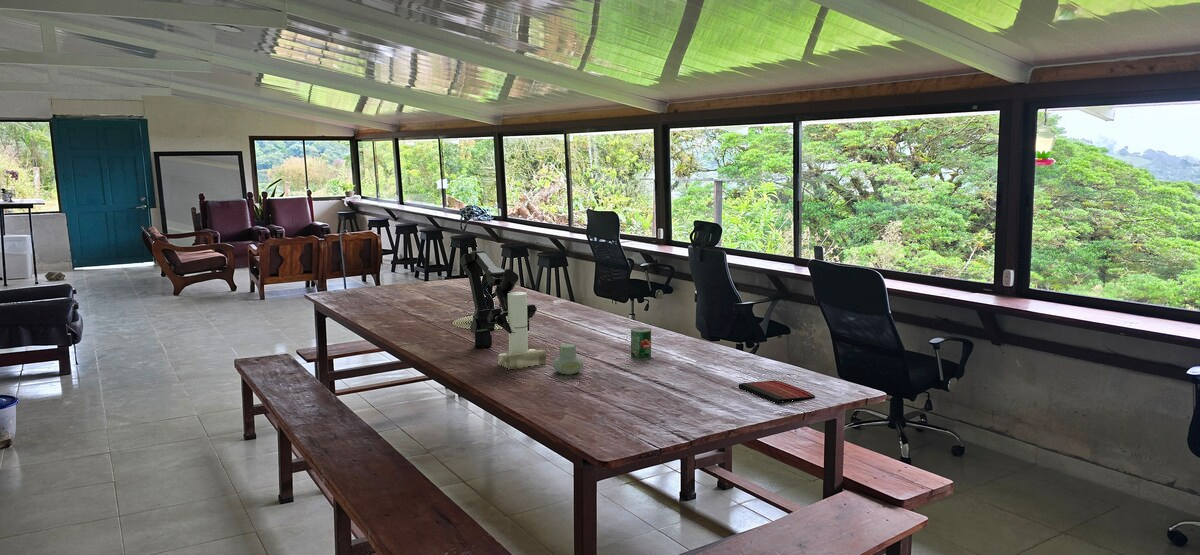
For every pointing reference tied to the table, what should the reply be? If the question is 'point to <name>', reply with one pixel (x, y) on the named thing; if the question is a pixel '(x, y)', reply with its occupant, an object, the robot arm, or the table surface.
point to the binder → (776, 391)
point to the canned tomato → (640, 343)
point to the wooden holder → (522, 359)
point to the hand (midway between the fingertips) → (519, 331)
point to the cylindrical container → (517, 322)
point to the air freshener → (567, 360)
